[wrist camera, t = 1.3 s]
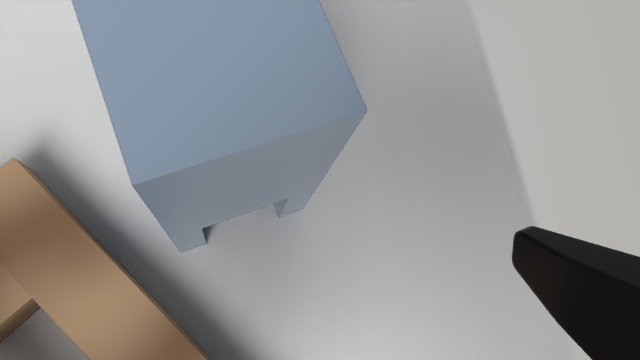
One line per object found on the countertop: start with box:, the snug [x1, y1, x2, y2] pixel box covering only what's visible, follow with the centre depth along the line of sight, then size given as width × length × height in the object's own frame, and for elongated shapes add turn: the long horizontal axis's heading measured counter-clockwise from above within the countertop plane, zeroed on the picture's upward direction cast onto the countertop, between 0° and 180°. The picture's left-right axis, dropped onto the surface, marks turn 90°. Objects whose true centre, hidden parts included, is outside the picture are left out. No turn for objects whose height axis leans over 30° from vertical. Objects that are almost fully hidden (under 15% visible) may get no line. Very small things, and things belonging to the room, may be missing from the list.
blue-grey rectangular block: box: [72, 0, 367, 253], centre depth 18 cm, size 6×5×12 cm
